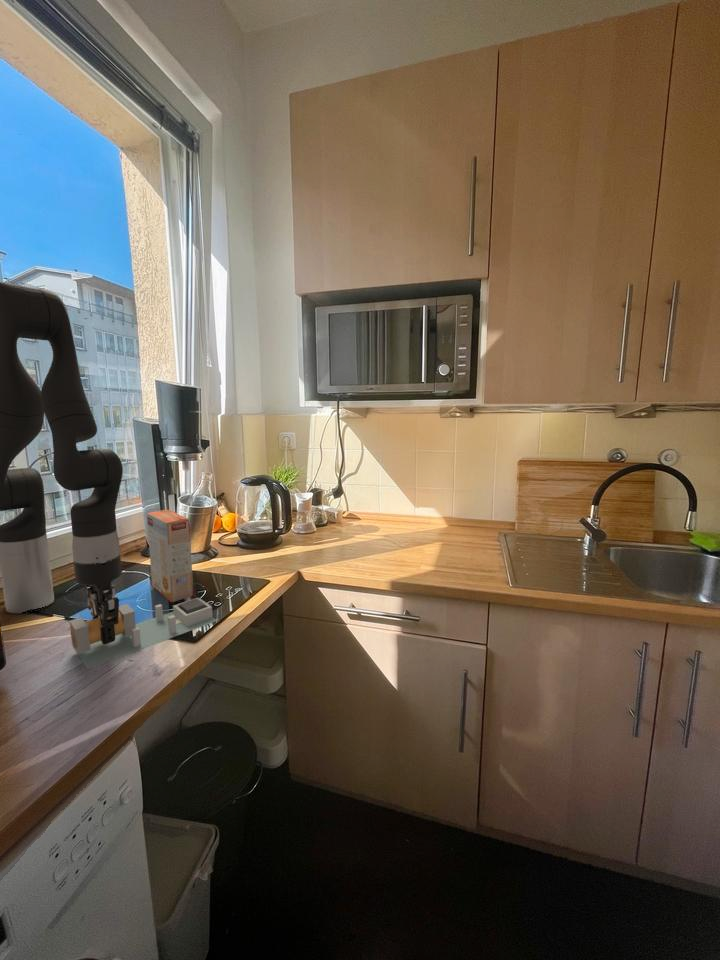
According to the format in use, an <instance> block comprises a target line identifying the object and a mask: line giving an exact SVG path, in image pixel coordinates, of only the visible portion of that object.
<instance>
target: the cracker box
mask: <svg viewBox="0 0 720 960" xmlns="http://www.w3.org/2000/svg"><path fill="white" fill-rule="evenodd" d="M146 517H147V519H146V520H147V528H148V529H147V532H148V545H149V548H148V549H149V561H150V563H149V564H150V574H151V575H150V578H151V579H150V580H151V587H152V589H155V590H156V591H157V592H159V593H160V594H161V595H162V596H163V597H164V598H165V599H166V600H168V601H169V602H170V603H174V602H177V601H180V600H181V601H182V600H184V599H188V598H191V597H193V596H194V584H193V582H194V581H193V564H192V542H191V525H190V523H191V522H190V521H191V520H190V519H189V518H187V517H186V516H183V515H180V514H179V513H176V512H174V511H172V510H170V509H162V510H158V511H157V510H155V511H150V512H147V513H146Z"/></svg>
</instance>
